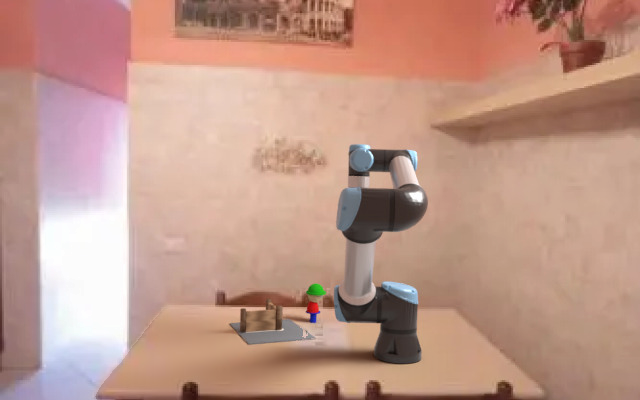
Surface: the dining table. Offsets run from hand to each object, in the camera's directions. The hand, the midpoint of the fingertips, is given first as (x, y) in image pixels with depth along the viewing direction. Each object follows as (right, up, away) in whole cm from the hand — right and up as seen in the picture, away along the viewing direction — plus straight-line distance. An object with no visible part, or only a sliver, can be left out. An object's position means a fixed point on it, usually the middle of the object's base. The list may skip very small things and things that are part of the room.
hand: (356, 256), depth 200 cm
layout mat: (-31, -28, +8) cm, 43 cm away
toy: (-15, -28, +25) cm, 40 cm away
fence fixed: (-30, -28, +16) cm, 44 cm away
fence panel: (-35, -27, +6) cm, 45 cm away
